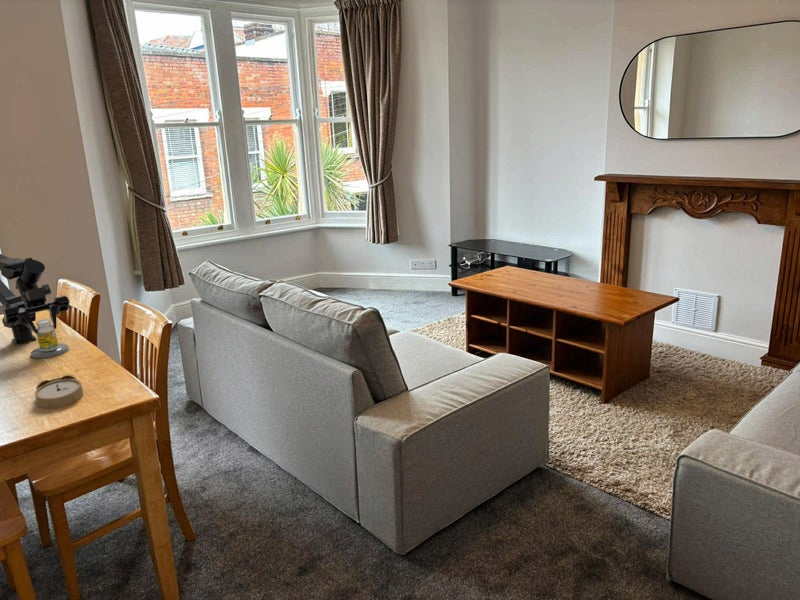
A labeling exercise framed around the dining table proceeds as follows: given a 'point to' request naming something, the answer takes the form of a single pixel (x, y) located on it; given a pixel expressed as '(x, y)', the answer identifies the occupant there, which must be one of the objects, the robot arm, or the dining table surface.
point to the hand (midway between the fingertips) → (46, 330)
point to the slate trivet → (49, 352)
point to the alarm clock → (58, 392)
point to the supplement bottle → (46, 335)
